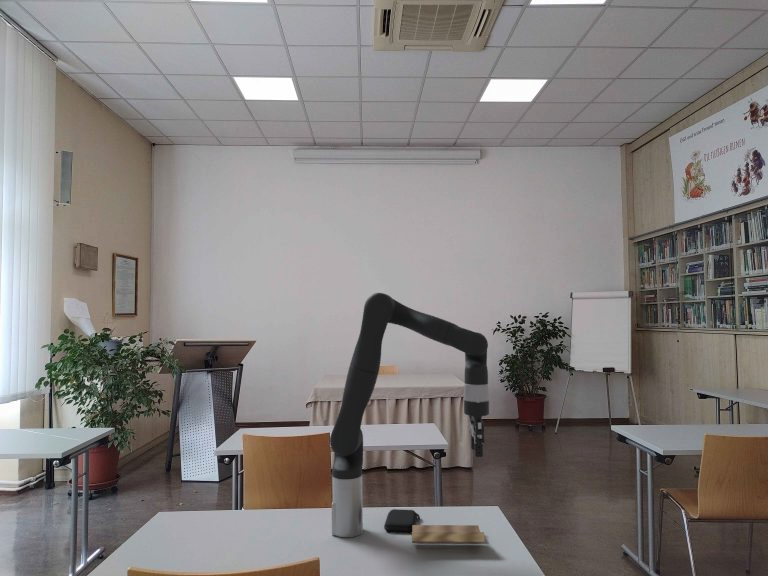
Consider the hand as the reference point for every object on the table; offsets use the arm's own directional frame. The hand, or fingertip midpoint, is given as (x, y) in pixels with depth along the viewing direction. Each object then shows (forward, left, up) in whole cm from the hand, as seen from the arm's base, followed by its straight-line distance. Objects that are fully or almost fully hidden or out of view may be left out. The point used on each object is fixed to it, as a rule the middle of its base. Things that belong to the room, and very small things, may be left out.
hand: (476, 452), depth 163 cm
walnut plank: (-10, 0, -25) cm, 27 cm away
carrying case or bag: (-23, +10, -26) cm, 36 cm away
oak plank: (-10, -9, -23) cm, 26 cm away
